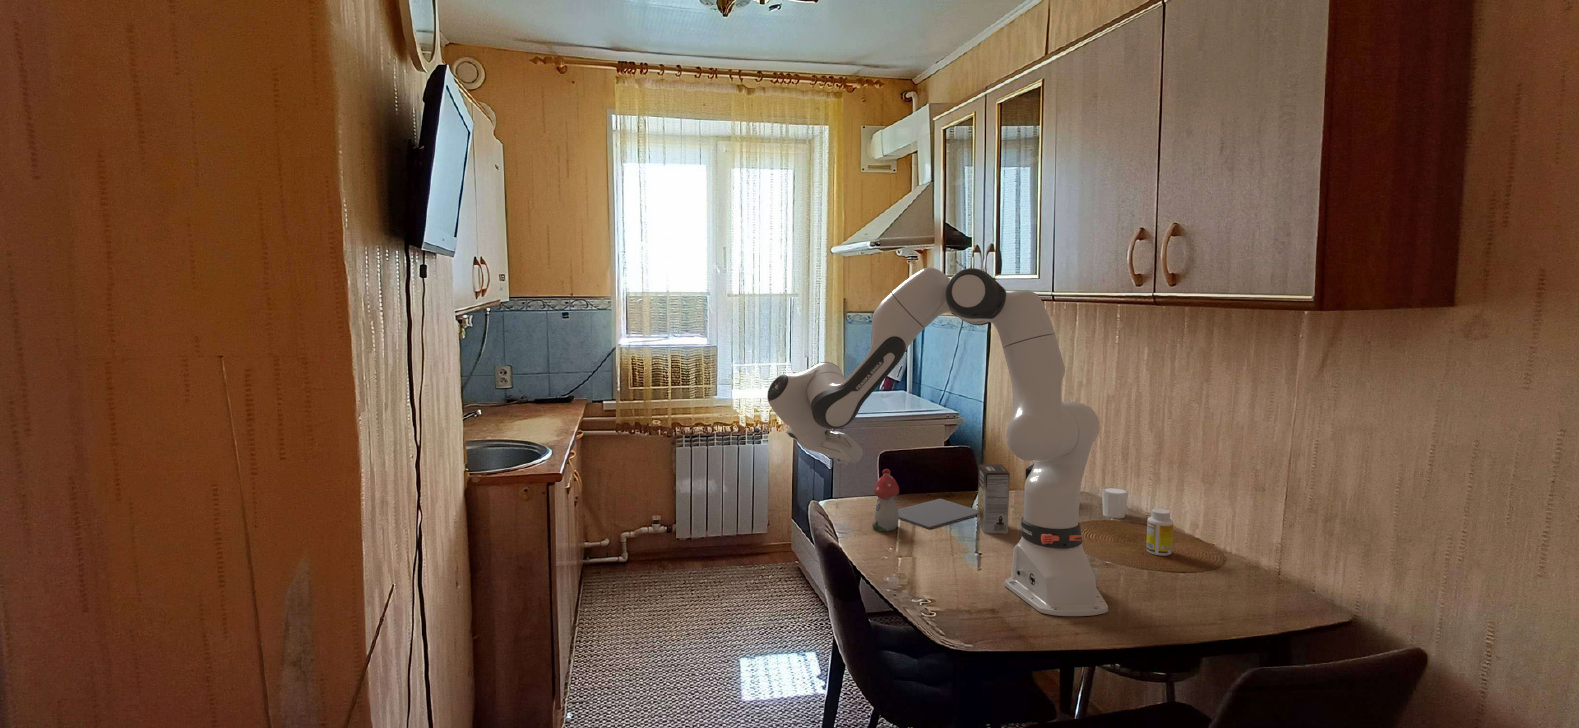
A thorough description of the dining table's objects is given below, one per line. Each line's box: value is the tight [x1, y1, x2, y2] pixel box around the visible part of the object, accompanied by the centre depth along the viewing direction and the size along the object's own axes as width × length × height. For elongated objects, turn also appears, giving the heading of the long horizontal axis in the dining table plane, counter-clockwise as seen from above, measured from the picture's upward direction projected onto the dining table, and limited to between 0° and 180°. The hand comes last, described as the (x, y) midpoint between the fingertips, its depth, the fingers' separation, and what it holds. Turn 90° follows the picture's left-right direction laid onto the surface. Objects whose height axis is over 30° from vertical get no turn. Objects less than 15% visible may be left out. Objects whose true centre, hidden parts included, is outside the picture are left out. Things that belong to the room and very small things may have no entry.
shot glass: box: [1101, 487, 1129, 519], centre depth 212 cm, size 7×7×7 cm
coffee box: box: [976, 463, 1011, 534], centre depth 201 cm, size 9×6×16 cm
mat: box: [897, 498, 978, 530], centre depth 213 cm, size 22×16×1 cm
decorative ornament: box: [871, 468, 900, 533], centre depth 201 cm, size 9×7×15 cm
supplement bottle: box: [1145, 508, 1174, 557], centre depth 183 cm, size 6×6×10 cm
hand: (844, 462), depth 191 cm, fingers closed
